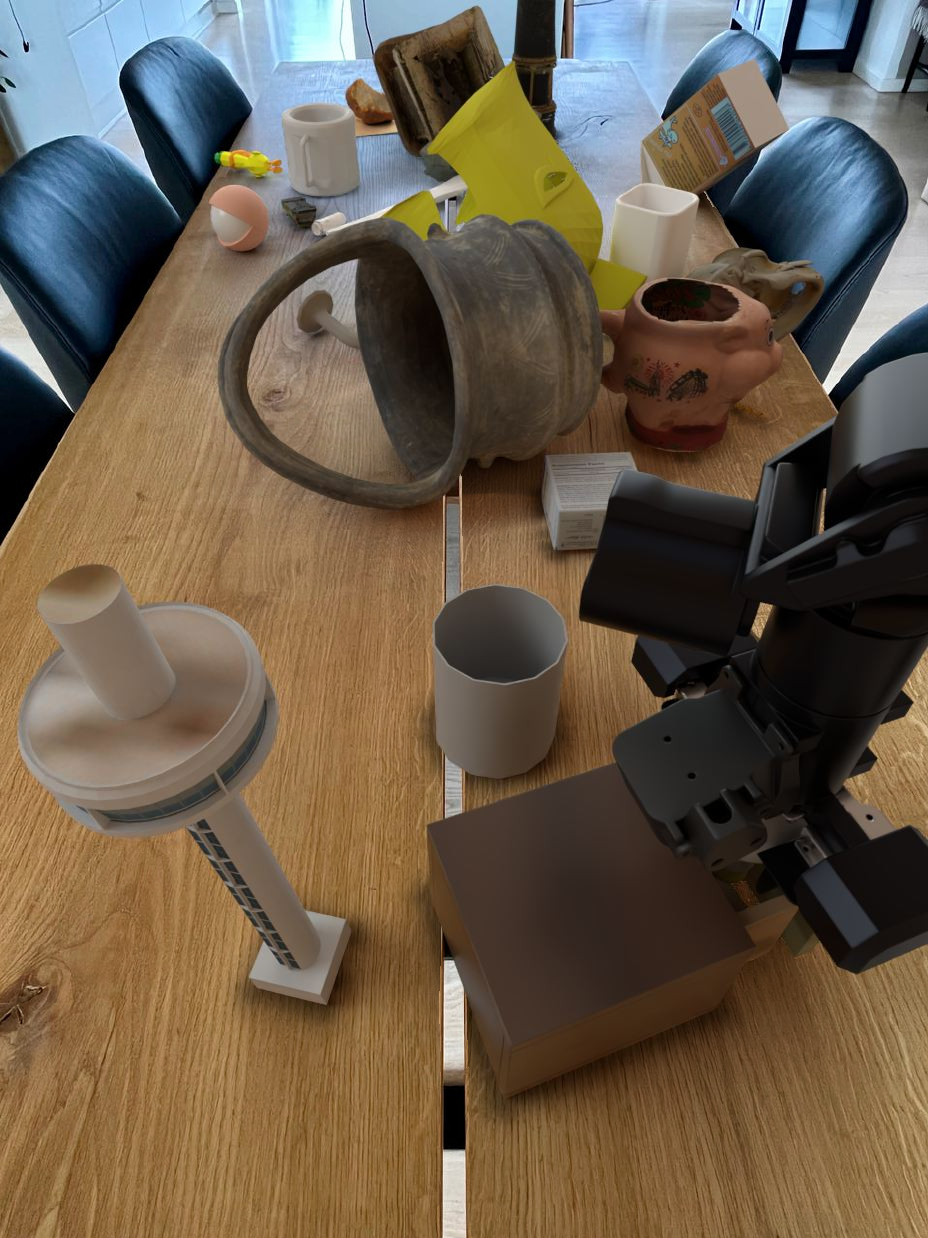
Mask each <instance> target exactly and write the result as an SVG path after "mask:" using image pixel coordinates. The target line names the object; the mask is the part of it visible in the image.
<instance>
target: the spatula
mask: <svg viewBox="0 0 928 1238" xmlns="http://www.w3.org/2000/svg"><path fill="white" fill-rule="evenodd" d="M467 190H468V187H467V185H466V183H465V182H464V181H463V179H462V178H461V177H460V175H458V176H455V177H453V178H452V179H450V180H448V181H446V182H442V183H440V184H438V185H437V186H434V187H432V188H430V189H427V190H426V191H430V192H431V194H432V196H433V198H434V199H435V202H436V205H437V204H440V203H442V202H444V201H447V200H449V199H451V198H454V197H457V196H458V195H460V194H462V193H464V192H467ZM398 203H399V202H397V203H395V204H393V205H391V206H390V205H389V206H387V207H385V208H383V209H380V210H378V211H376V212H373V213H371V214H369V215H367V216H364V217H361V218H359V219H356V220H353V221H349V222H348V223H345V224H344V225H341V226H339V227H337V228H333V229H330V230H328V231H327V232H326V234H325V236H327V235H330V234H332V233H334V232H336V231H338V230H341V229H343V228H345V227H348V226H350V225H353V224H357V223H360V222H364V221H367V220H372V219H376V218H380V217H381V216H382V215H383V214H385V213H386V212H387V211H388V210H390V209H391V208H392V207H393V206H395V205H396V204H398Z"/></svg>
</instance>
